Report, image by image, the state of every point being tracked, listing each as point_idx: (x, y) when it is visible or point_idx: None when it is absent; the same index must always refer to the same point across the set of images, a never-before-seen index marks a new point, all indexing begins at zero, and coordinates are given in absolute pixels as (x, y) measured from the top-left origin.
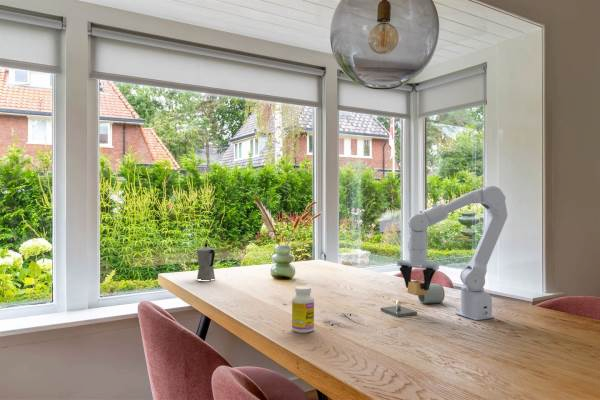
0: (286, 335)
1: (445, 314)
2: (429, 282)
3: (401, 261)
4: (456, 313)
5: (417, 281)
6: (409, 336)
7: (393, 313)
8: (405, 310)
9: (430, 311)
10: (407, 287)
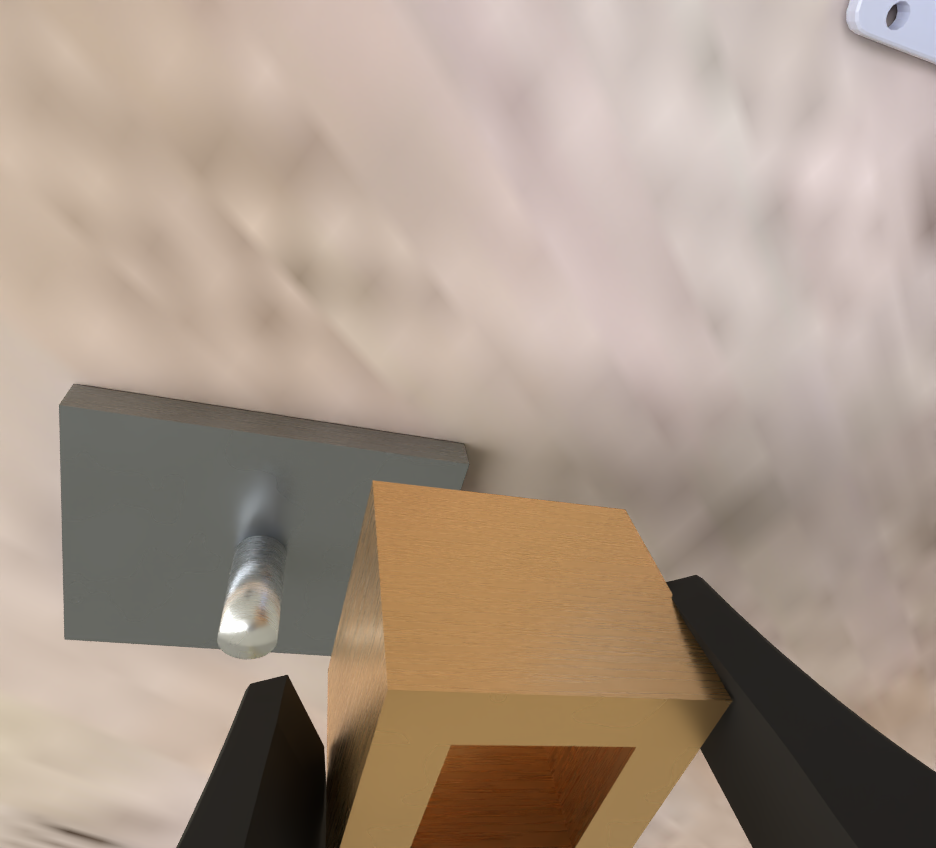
0: None
1: (720, 154)
2: (799, 700)
3: None
4: (871, 37)
5: (445, 745)
6: None
7: (325, 646)
8: (340, 524)
9: (481, 174)
10: (316, 756)
